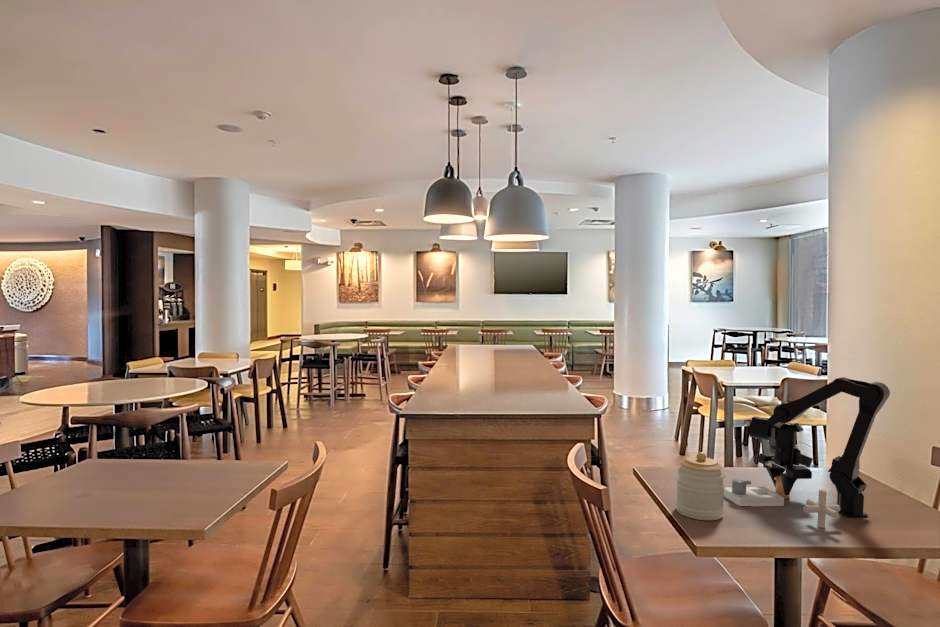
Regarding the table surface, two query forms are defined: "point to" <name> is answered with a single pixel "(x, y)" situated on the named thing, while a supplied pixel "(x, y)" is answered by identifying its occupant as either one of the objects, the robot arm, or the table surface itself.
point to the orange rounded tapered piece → (780, 487)
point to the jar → (700, 488)
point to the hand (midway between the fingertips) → (782, 492)
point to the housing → (752, 495)
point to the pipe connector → (821, 508)
